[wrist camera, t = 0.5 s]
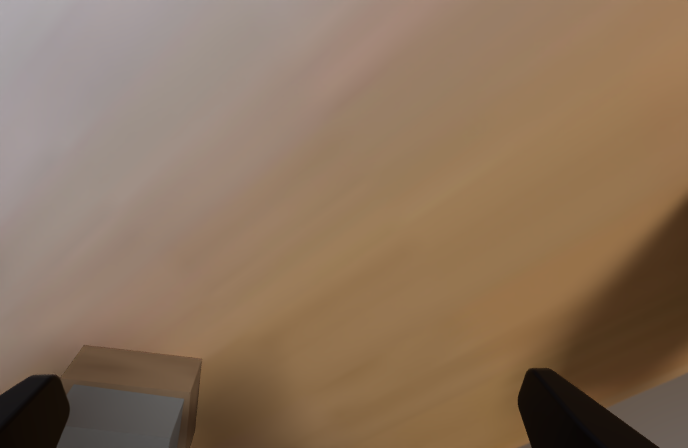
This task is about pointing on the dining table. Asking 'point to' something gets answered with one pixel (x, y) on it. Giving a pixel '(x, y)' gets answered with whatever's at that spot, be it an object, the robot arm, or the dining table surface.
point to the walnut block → (140, 378)
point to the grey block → (120, 419)
